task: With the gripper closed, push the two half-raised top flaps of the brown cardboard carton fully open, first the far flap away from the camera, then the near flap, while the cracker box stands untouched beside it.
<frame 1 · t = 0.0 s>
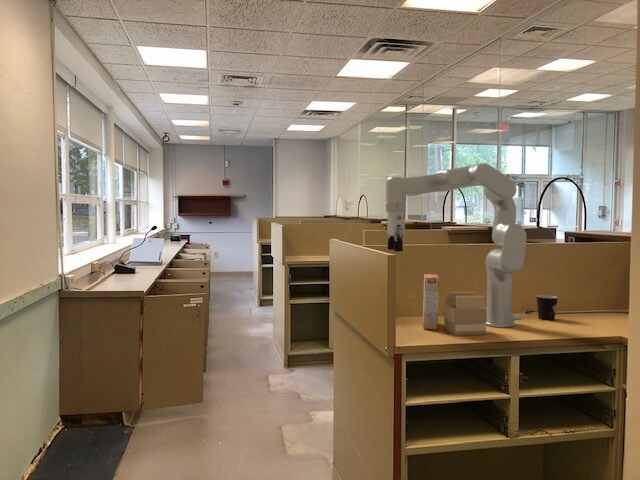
hand: (394, 250, 198), 31 cm above the table, tool pointing down, fingers open, 9 cm apart
carton: (464, 332, 191), on the table
near flap: (470, 302, 186), point 13 cm above the table, hinge at 70.0°
far flap: (459, 297, 195), point 13 cm above the table, hinge at 70.0°
cracker box: (430, 326, 201), on the table
coffee mug: (549, 319, 217), on the table
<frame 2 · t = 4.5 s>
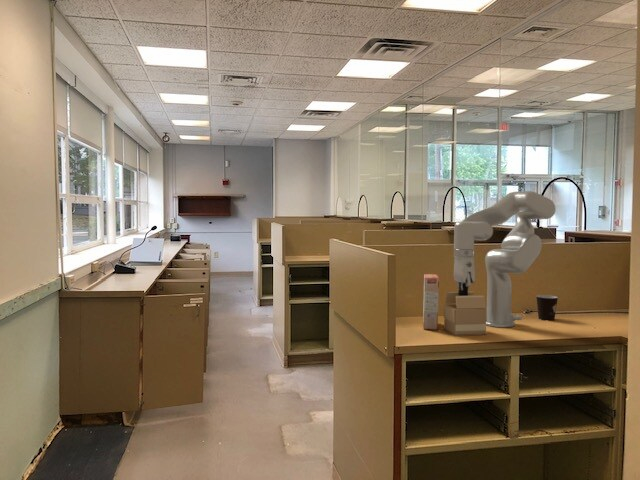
hand: (463, 300, 193), 12 cm above the table, tool pointing down, fingers closed
far flap: (459, 297, 196), point 13 cm above the table, hinge at 74.4°, touching gripper
everything else where it was.
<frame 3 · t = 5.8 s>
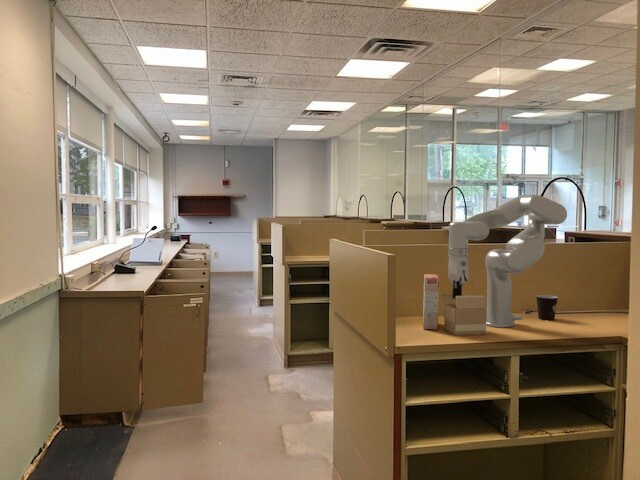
hand: (456, 297, 198), 12 cm above the table, tool pointing down, fingers closed
far flap: (457, 299, 198), point 12 cm above the table, hinge at 138.0°, touching gripper
everything else where it was.
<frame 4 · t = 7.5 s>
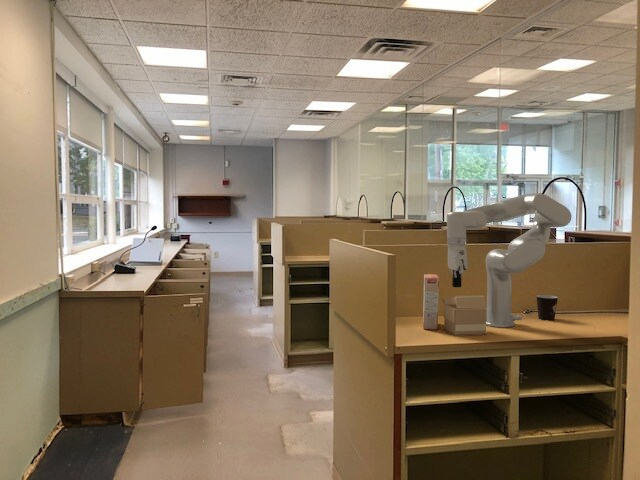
hand: (456, 286, 200), 16 cm above the table, tool pointing down, fingers closed
far flap: (456, 301, 199), point 11 cm above the table, hinge at 155.2°
everything else where it was.
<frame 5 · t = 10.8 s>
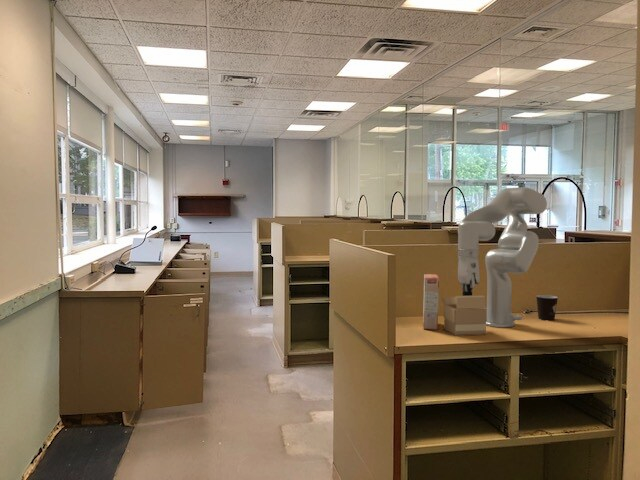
hand: (467, 301, 188), 12 cm above the table, tool pointing down, fingers closed
near flap: (470, 302, 185), point 13 cm above the table, hinge at 72.9°, touching gripper
everything else where it was.
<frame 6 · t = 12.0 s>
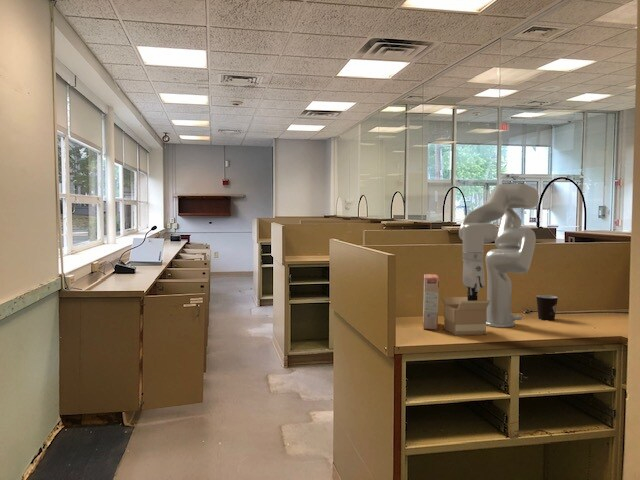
hand: (472, 305, 184), 12 cm above the table, tool pointing down, fingers closed
near flap: (473, 305, 183), point 12 cm above the table, hinge at 130.3°, touching gripper
everything else where it was.
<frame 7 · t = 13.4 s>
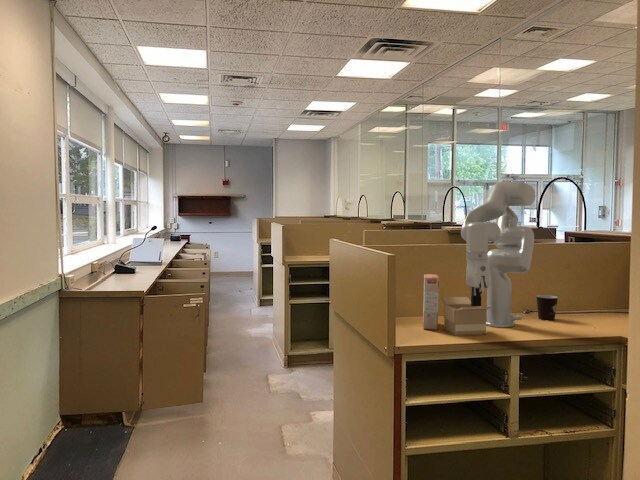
hand: (476, 305, 181), 12 cm above the table, tool pointing down, fingers closed
near flap: (474, 308, 182), point 11 cm above the table, hinge at 159.4°
everything else where it was.
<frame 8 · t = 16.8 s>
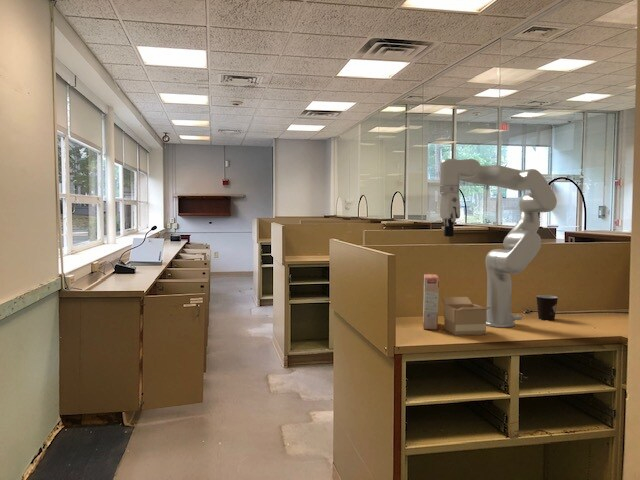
hand: (448, 236, 196), 37 cm above the table, tool pointing down, fingers closed
nothing on the table moved.
at the end: far flap at +155° (first picture: +70°); near flap at +160° (first picture: +70°) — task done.
